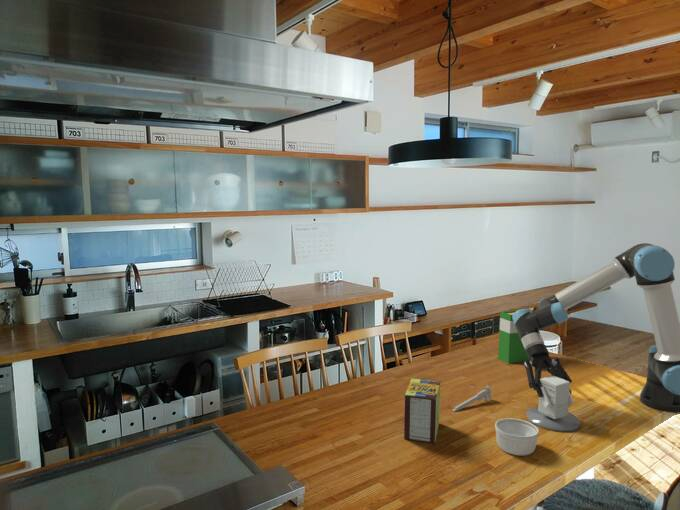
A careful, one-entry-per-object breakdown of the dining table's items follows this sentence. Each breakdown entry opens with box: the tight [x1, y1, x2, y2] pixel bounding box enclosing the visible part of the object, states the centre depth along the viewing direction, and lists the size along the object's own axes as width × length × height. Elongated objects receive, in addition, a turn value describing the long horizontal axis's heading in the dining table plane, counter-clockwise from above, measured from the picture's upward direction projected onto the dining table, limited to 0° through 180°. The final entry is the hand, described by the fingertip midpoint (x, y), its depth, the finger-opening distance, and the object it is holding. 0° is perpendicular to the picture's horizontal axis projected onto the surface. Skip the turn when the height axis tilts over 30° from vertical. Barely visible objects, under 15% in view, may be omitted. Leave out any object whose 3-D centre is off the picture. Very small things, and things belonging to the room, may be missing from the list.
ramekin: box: [494, 417, 540, 457], centre depth 156 cm, size 13×13×7 cm
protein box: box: [403, 378, 441, 444], centre depth 166 cm, size 10×15×16 cm
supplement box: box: [537, 375, 571, 419], centre depth 175 cm, size 7×7×13 cm
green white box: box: [497, 308, 532, 364], centre depth 241 cm, size 18×7×24 cm, turn 111°
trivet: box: [525, 406, 581, 433], centre depth 176 cm, size 18×18×1 cm
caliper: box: [451, 385, 492, 413], centre depth 188 cm, size 20×1×6 cm, turn 123°
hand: (559, 404), depth 172 cm, fingers closed on supplement box, 9 cm apart
